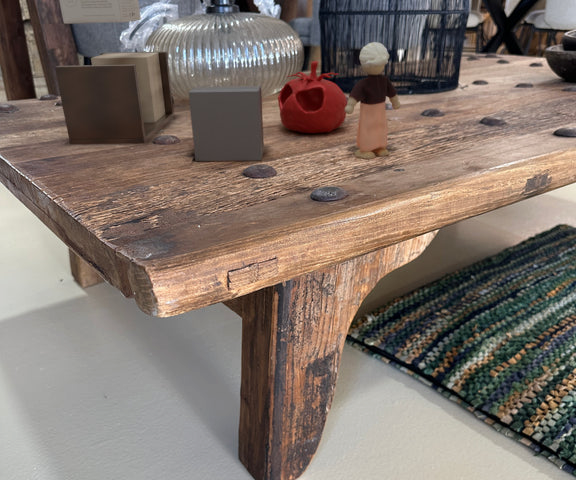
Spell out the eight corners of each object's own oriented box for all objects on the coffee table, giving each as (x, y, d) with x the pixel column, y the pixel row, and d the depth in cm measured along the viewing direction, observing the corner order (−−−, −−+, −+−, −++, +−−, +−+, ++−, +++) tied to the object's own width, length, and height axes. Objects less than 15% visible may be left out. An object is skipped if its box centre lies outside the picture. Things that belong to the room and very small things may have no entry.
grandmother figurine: (377, 147, 73) (383, 39, 67) (401, 152, 70) (409, 40, 64) (335, 158, 68) (337, 43, 63) (359, 164, 66) (363, 45, 60)
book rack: (70, 148, 76) (54, 66, 71) (113, 121, 92) (102, 52, 87) (144, 147, 75) (133, 65, 70) (174, 120, 91) (167, 51, 86)
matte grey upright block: (195, 161, 69) (188, 91, 65) (200, 152, 72) (194, 86, 68) (261, 160, 68) (258, 90, 64) (263, 152, 72) (261, 85, 68)
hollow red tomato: (310, 119, 89) (310, 55, 85) (360, 128, 83) (363, 59, 78) (263, 130, 83) (261, 62, 79) (313, 140, 77) (313, 66, 72)
